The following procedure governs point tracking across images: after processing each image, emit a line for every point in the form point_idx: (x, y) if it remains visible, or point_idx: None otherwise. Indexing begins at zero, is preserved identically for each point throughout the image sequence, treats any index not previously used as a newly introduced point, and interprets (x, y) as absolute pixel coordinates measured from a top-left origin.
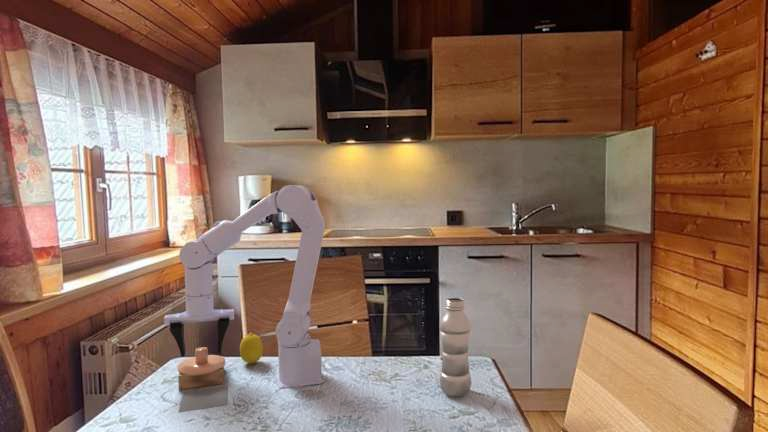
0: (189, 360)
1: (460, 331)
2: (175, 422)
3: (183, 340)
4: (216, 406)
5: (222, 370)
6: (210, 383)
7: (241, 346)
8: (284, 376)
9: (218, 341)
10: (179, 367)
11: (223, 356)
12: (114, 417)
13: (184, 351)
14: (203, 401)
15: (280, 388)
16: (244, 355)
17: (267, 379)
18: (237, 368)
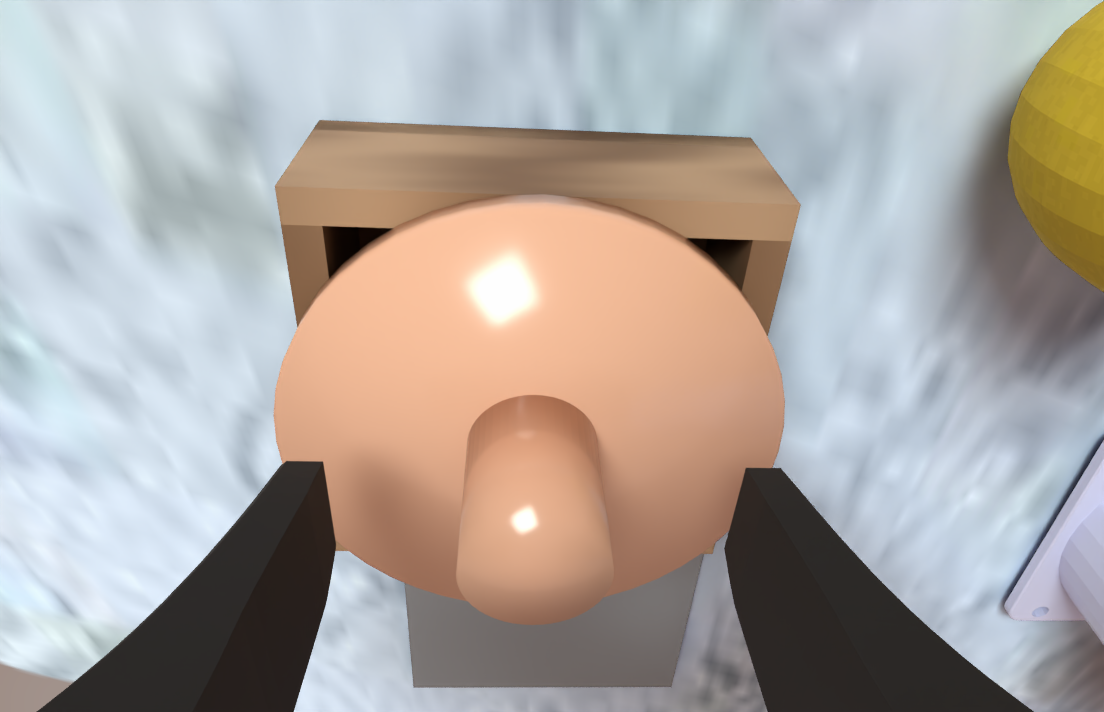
0: (381, 336)
1: None
2: None
3: (264, 671)
4: (613, 686)
5: (710, 552)
6: None
7: (1100, 240)
8: (1097, 635)
9: (770, 704)
10: None
11: (798, 210)
12: (47, 625)
13: (321, 572)
14: (543, 633)
15: (1010, 615)
16: (1042, 241)
17: (1018, 451)
18: (895, 127)
